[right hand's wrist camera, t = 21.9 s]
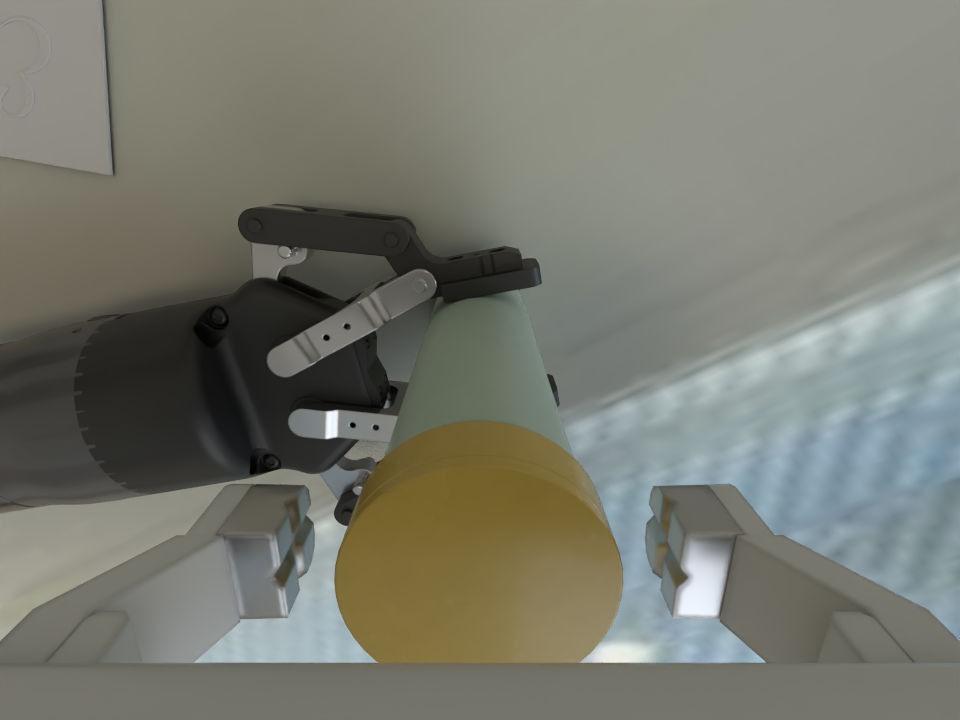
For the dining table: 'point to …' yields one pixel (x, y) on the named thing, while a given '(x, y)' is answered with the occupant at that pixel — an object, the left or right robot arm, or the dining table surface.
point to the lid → (478, 552)
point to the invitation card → (54, 84)
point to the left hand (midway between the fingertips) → (545, 332)
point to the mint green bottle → (479, 371)
